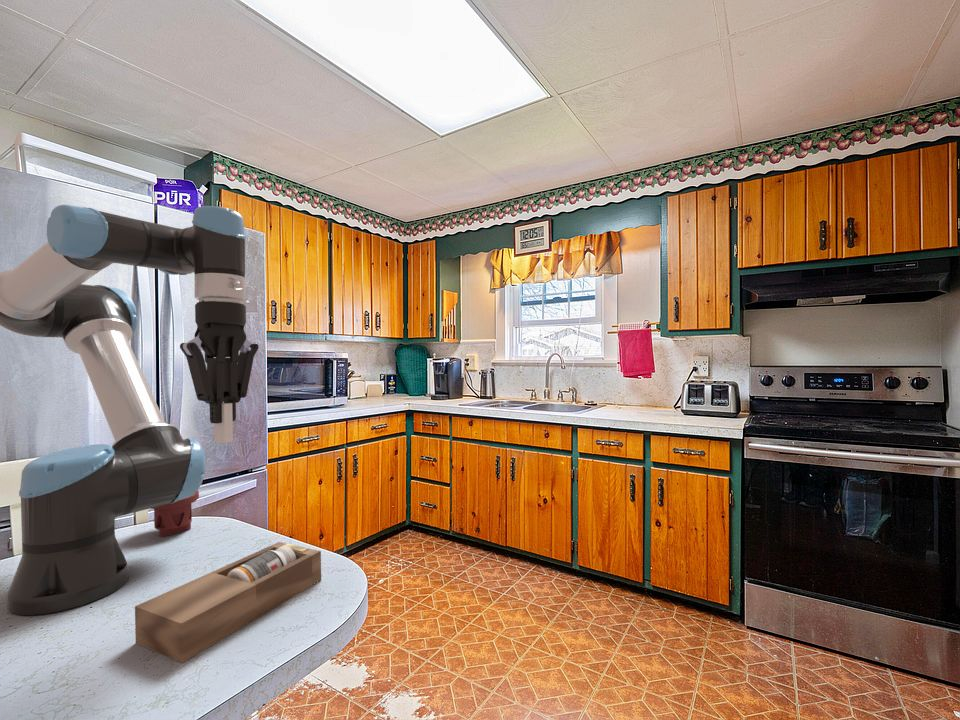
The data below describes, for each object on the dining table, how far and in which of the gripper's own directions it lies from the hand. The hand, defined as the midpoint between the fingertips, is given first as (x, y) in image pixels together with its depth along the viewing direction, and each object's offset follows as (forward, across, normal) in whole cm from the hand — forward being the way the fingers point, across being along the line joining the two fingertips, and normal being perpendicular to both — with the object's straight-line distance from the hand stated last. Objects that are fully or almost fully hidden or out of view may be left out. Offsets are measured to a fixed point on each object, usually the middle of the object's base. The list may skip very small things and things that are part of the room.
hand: (223, 441), depth 80 cm
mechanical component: (+25, +12, +34) cm, 44 cm away
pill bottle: (+22, -4, -8) cm, 23 cm away
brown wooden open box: (+24, -4, -8) cm, 26 cm away
